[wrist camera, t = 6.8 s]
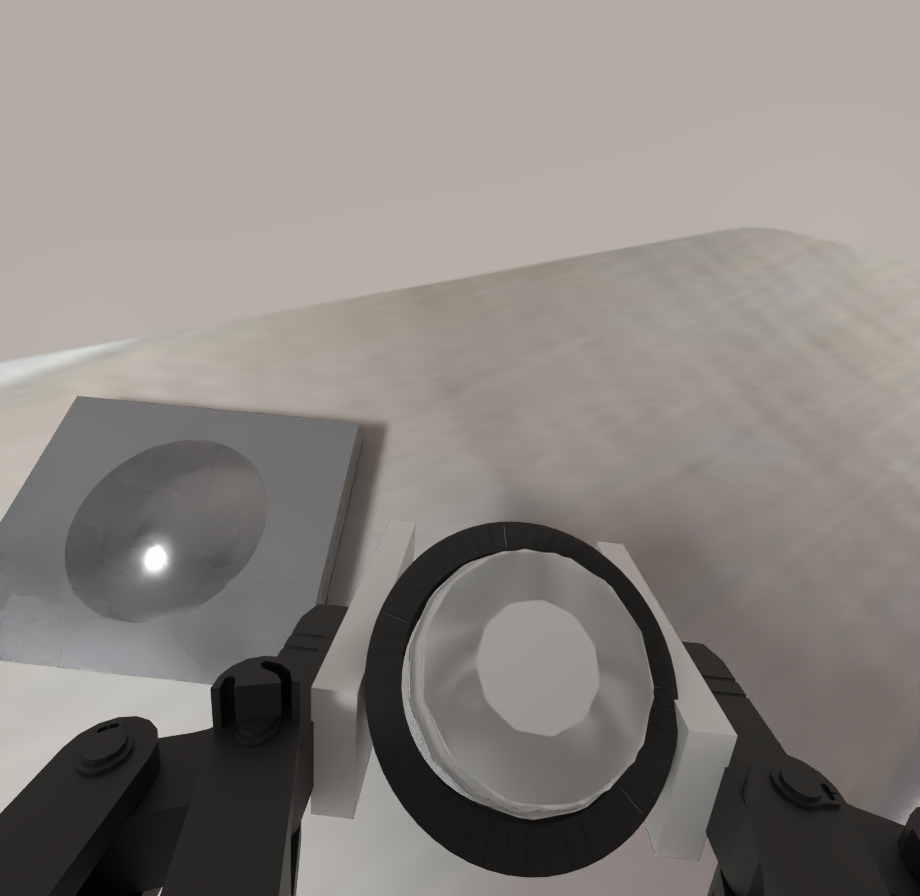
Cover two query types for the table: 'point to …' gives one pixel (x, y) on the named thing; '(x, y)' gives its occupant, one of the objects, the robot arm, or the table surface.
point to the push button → (522, 699)
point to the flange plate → (172, 538)
